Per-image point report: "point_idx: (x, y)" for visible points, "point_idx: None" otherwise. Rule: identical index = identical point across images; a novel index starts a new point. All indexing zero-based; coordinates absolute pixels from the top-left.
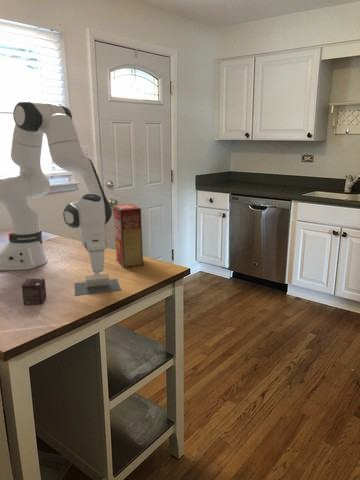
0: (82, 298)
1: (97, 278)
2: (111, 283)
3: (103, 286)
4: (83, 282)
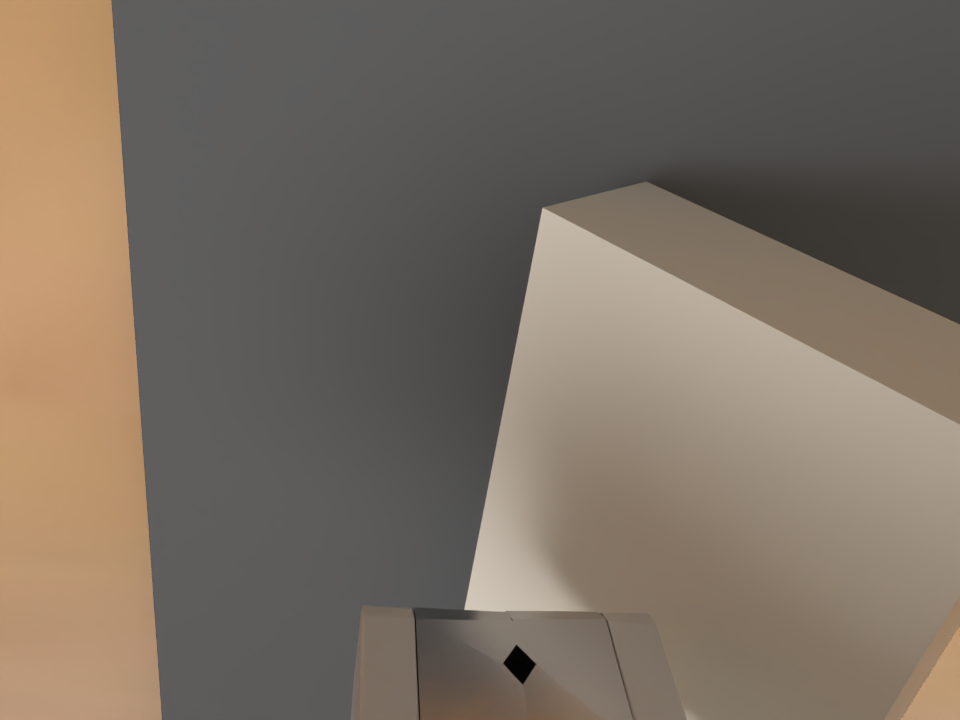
0: (943, 695)
1: (903, 708)
2: (548, 64)
3: None
4: (177, 671)
